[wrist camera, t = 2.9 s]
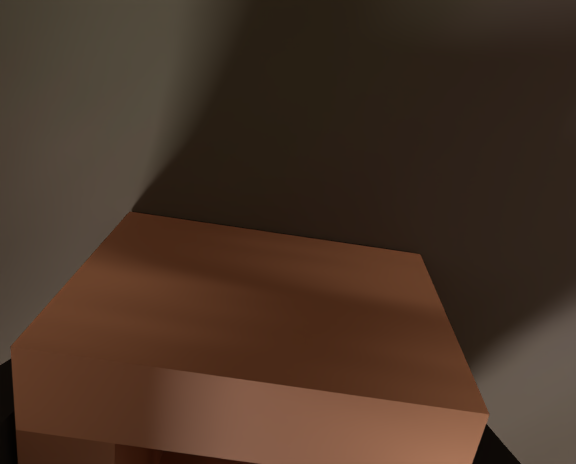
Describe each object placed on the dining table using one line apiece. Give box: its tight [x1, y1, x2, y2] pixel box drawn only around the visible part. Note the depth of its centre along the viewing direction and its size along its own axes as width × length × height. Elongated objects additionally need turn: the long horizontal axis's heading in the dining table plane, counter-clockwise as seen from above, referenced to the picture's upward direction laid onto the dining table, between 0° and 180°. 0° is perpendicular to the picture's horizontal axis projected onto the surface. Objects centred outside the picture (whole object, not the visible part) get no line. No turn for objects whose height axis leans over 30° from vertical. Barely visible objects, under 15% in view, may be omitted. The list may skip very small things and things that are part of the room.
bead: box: [11, 212, 489, 464], centre depth 9 cm, size 5×5×4 cm
